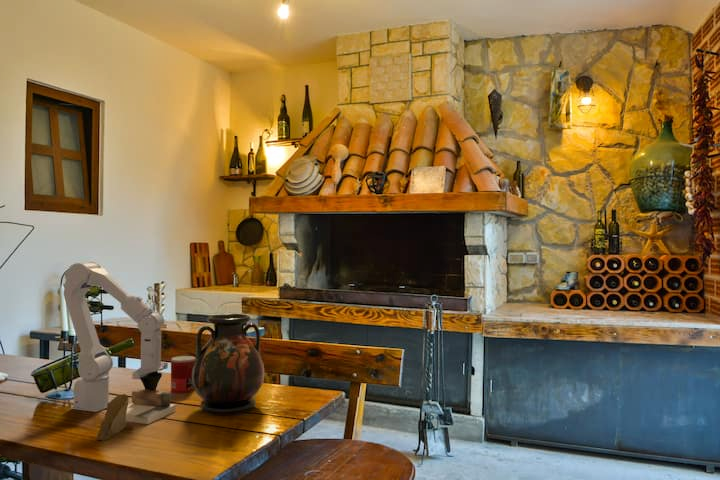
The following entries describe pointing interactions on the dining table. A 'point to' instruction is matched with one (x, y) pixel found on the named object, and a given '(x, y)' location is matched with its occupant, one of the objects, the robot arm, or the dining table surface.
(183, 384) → the canned food
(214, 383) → the amphora vase
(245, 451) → the dining table surface
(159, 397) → the stool leg
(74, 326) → the robot arm
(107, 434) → the rock
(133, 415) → the stool seat
